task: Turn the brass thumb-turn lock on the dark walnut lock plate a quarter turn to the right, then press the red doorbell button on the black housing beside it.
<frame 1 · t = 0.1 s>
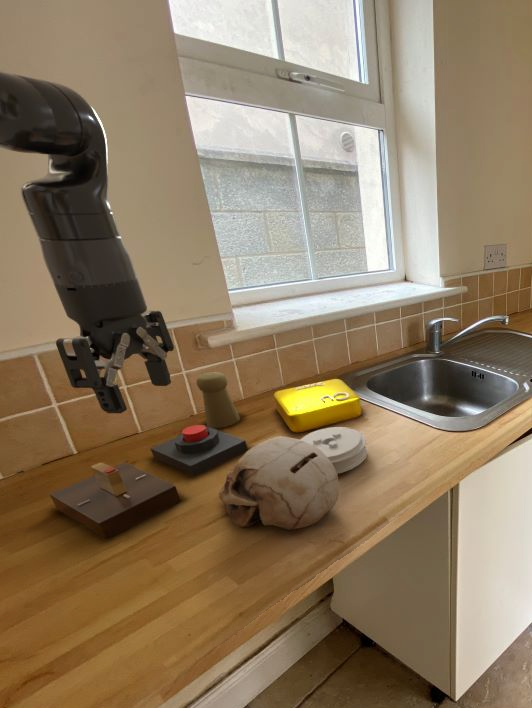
hand: (140, 397, 61), 20 cm above the countertop, tool pointing down, fingers open, 8 cm apart
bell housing: (202, 454, 85), on the countertop
lock knob: (108, 478, 69), point 5 cm above the countertop, hinge at 0.0°
coin bank: (282, 510, 72), on the countertop
lid: (332, 461, 85), on the countertop
element tile: (319, 412, 102), on the countertop
lock plate: (120, 505, 71), on the countertop
cork: (223, 422, 97), on the countertop
bell button: (195, 433, 83), point 4 cm above the countertop, slide at 0.1 cm
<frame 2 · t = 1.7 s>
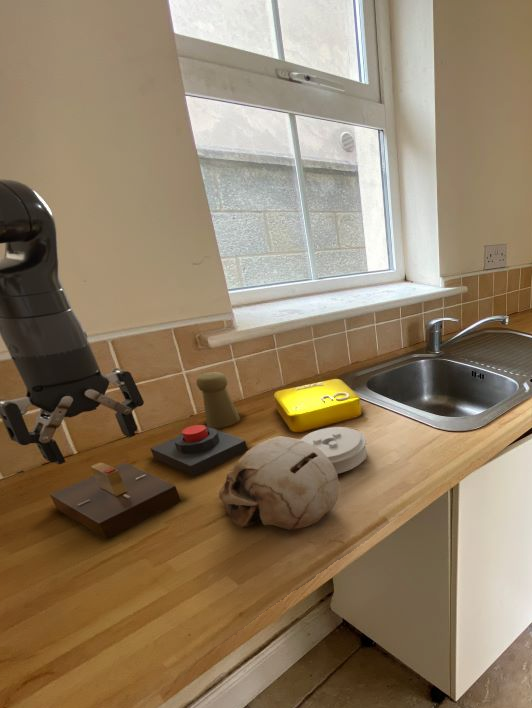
hand: (96, 448, 67), 11 cm above the countertop, tool pointing down, fingers open, 8 cm apart
nothing on the countertop moved.
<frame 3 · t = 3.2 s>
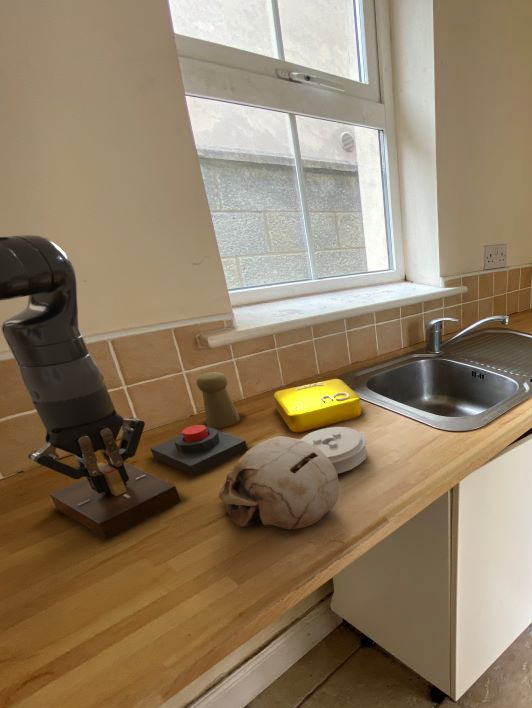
hand: (112, 488, 70), 3 cm above the countertop, tool pointing down, fingers closed
lock knob: (108, 478, 69), point 5 cm above the countertop, hinge at 0.1°, touching gripper
everything else where it was.
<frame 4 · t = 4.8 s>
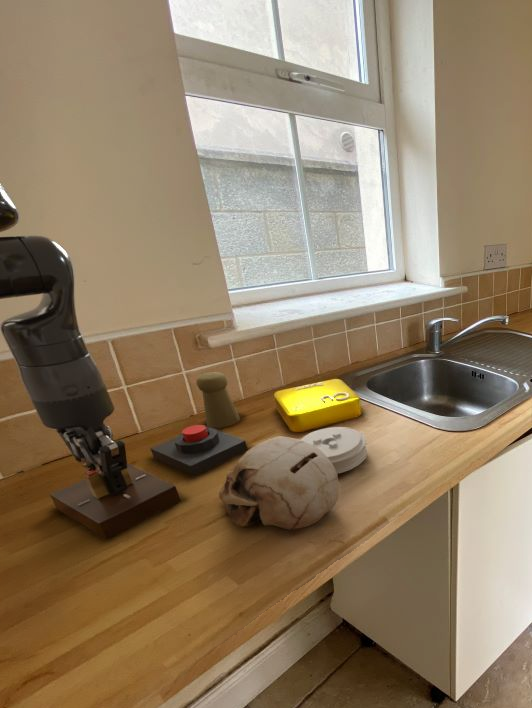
hand: (112, 488, 70), 3 cm above the countertop, tool pointing down, fingers closed
lock knob: (108, 478, 69), point 5 cm above the countertop, hinge at -90.3°
everything else where it was.
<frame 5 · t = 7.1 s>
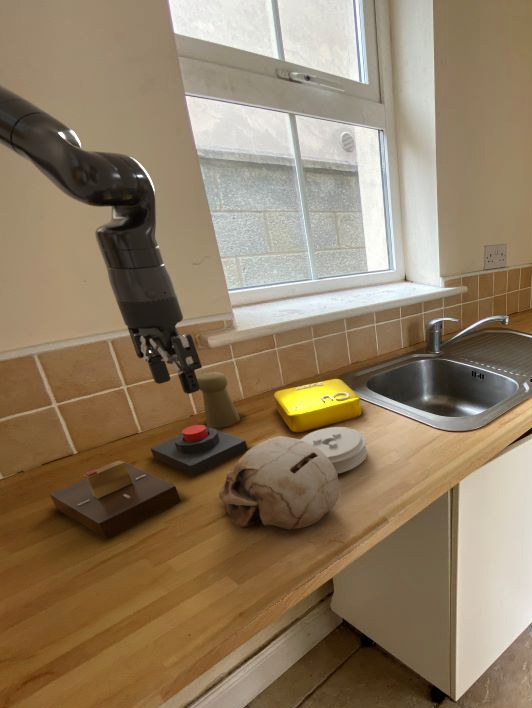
hand: (177, 386, 78), 14 cm above the countertop, tool pointing down, fingers open, 8 cm apart
nothing on the countertop moved.
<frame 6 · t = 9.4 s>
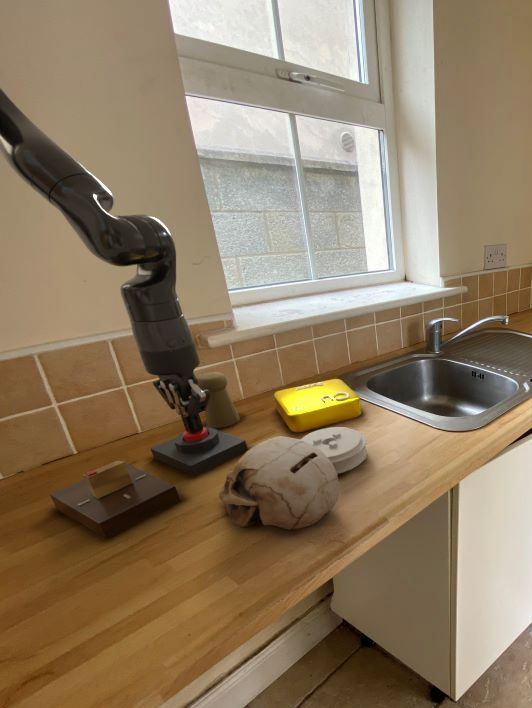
hand: (195, 431, 83), 5 cm above the countertop, tool pointing down, fingers closed
bell button: (196, 435, 83), point 4 cm above the countertop, slide at -0.4 cm, touching gripper
everything else where it was.
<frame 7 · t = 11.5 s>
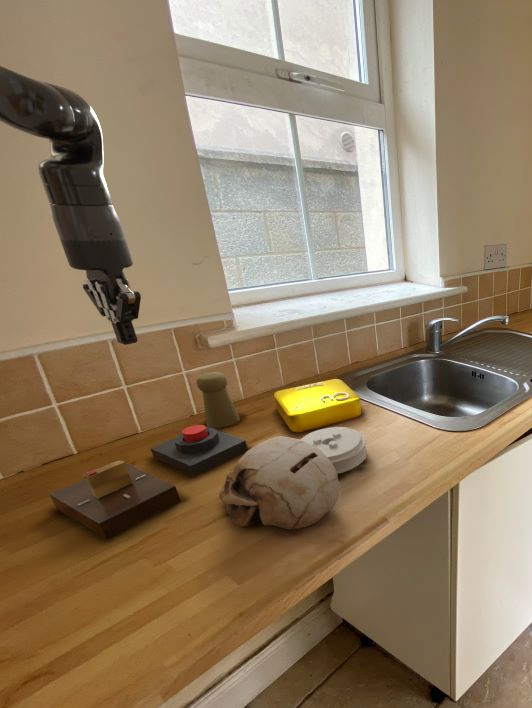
hand: (128, 342, 77), 22 cm above the countertop, tool pointing down, fingers closed
bell button: (195, 433, 83), point 5 cm above the countertop, slide at 0.1 cm
everything else where it was.
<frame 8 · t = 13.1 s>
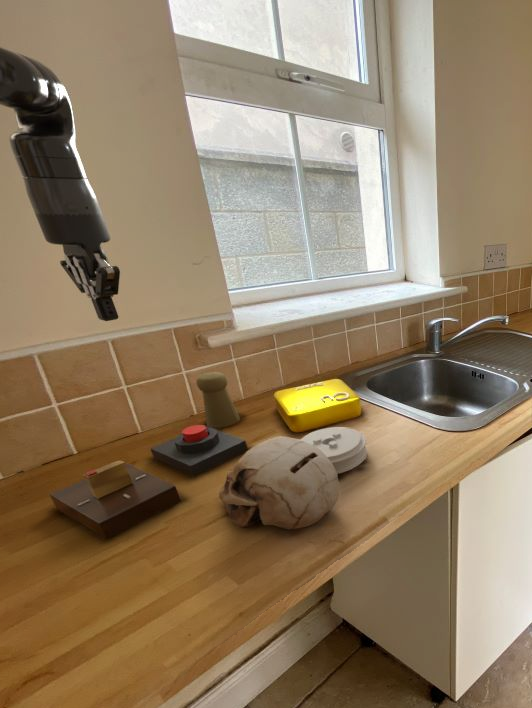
hand: (109, 319, 77), 25 cm above the countertop, tool pointing down, fingers closed
nothing on the countertop moved.
at the end: lock knob at -90° (first picture: +0°); bell button pushed in 1.1 cm at the most during the clip, back to where it started at the end; bell button slide at 0.1 cm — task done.
